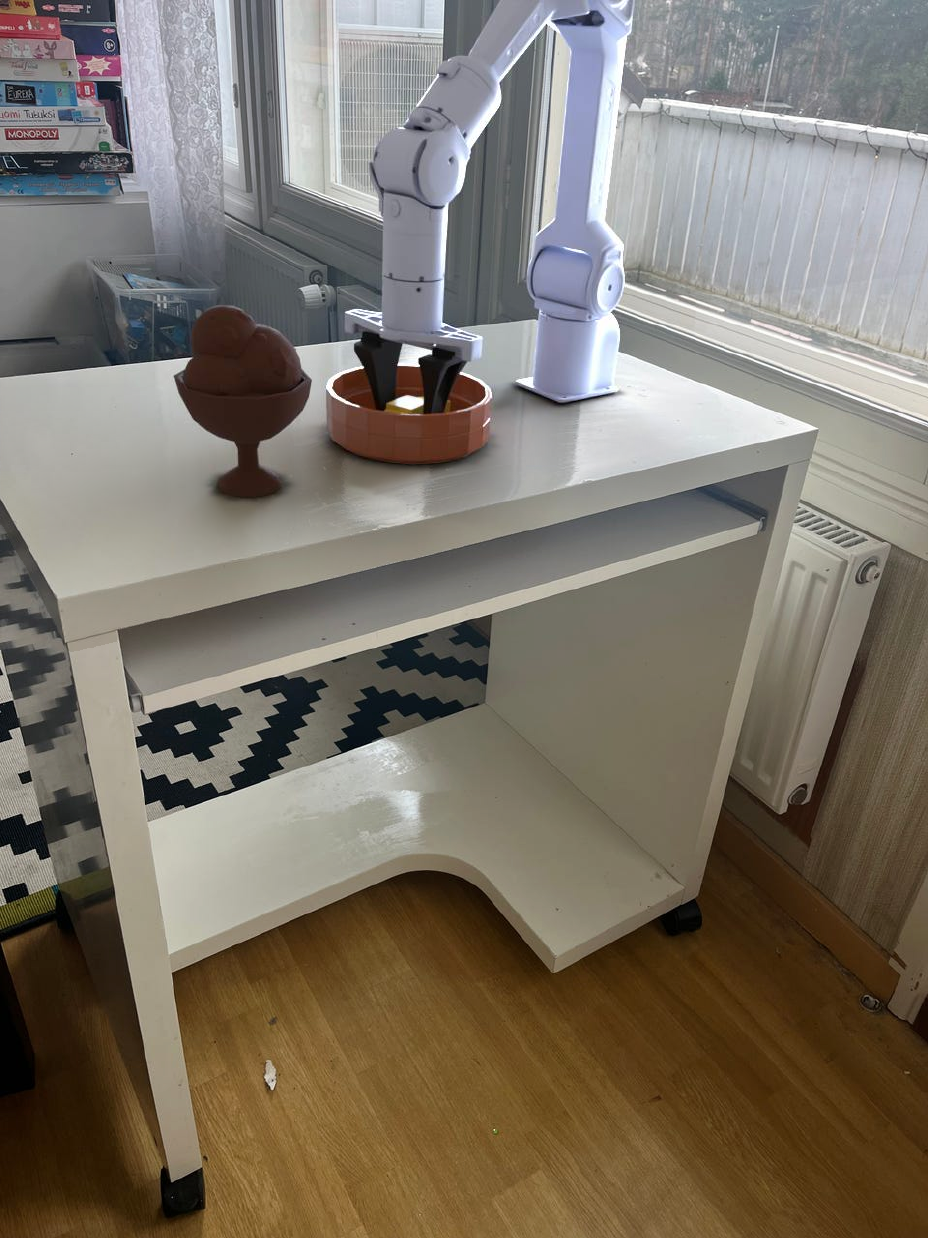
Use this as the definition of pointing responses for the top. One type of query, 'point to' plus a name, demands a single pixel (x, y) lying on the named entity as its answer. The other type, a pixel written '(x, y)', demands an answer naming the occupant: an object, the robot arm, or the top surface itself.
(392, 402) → the yellow banana
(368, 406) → the bowl
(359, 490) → the top surface
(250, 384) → the ice cream bowl
